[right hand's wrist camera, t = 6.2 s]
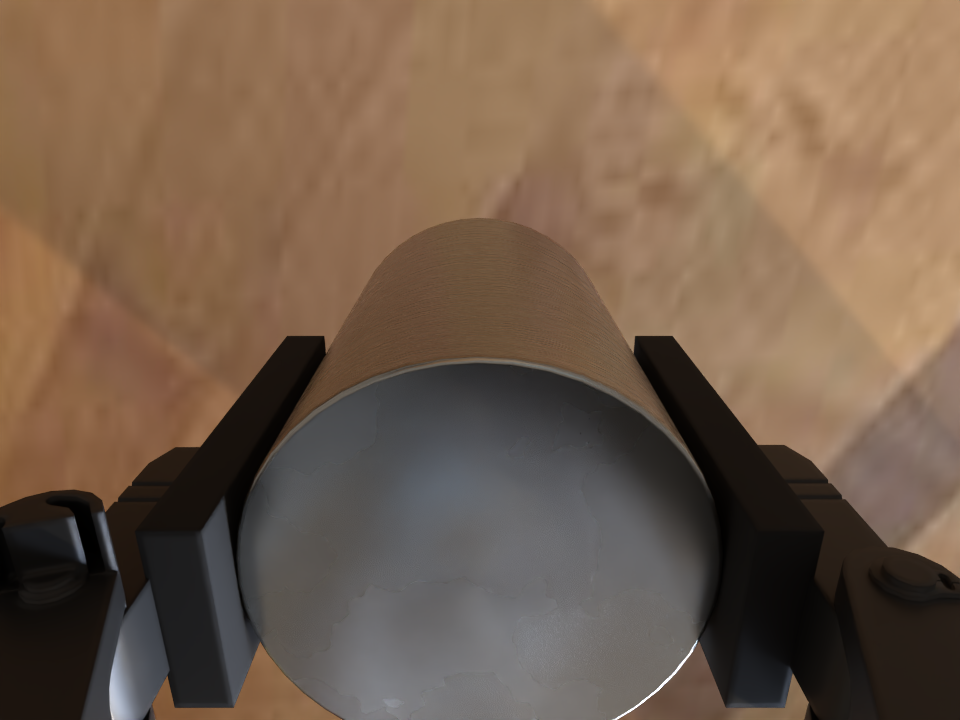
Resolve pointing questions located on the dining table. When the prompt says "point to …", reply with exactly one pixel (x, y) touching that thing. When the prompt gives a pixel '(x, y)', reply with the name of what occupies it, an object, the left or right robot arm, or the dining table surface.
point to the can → (479, 500)
